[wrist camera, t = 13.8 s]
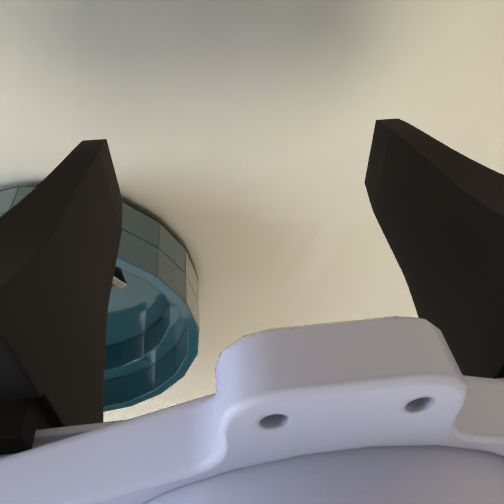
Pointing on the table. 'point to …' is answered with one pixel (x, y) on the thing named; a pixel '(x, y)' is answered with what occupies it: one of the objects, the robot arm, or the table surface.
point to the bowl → (144, 310)
